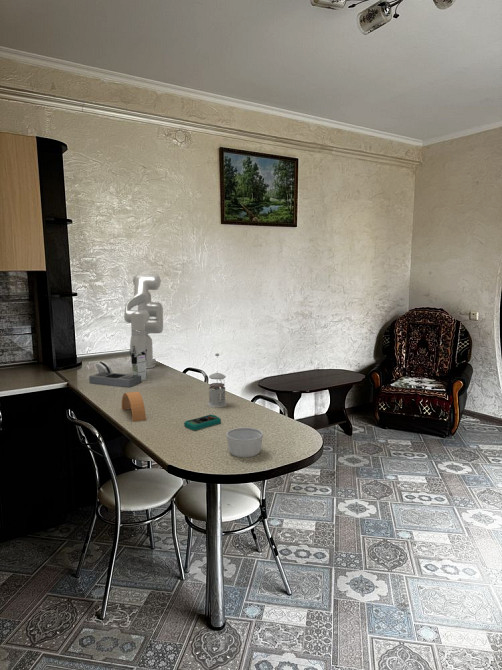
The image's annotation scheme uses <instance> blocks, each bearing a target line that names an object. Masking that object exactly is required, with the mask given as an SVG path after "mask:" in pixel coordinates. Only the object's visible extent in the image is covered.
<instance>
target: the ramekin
mask: <svg viewBox="0 0 502 670" xmlns="http://www.w3.org/2000/svg"><path fill="white" fill-rule="evenodd" d="M225 437H226V441H227V449H228V451H229V453H230V454H231V455H233V456H234V457H238V458H251V457H255V456H257V455H258V454H259V453H260V452H261V450H262V444H263V438H264V433H263V431H262V430H260V429H258V428H255V427H246V426H245V427H244V426H243V427H242V426H241V427H236V428H232V429H230V430H227V432H226V434H225Z"/></svg>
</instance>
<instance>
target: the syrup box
mask: <svg viewBox="0 0 502 670" xmlns="http://www.w3.org/2000/svg"><path fill="white" fill-rule="evenodd" d="M136 357H137V364H132V363H131V364H132V365H131V366H132V375H140V376H141V381H145V380H147V371H146V370H147V368H146V361H145V355H141V354H138V353H137V355H136Z"/></svg>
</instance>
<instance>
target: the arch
mask: <svg viewBox="0 0 502 670" xmlns="http://www.w3.org/2000/svg"><path fill="white" fill-rule="evenodd" d="M122 409H123V410H131V417H132V419H131V421H132V422H140V421H146V419H147V417H146V416H147V415H146V408H145V404H144V399H143V396H142V395H141V393H140V392H139V391H131V392H124V393H123V394H122V399H121V410H122Z"/></svg>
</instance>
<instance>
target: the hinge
mask: <svg viewBox="0 0 502 670" xmlns="http://www.w3.org/2000/svg"><path fill="white" fill-rule="evenodd" d="M95 366H96V369H97V371H98V373H101V372H109V373H114V372H113V370H112V368H111V366H110V365H109V364H108V363H107V362H106V361H99V362H97V363H96V364H95Z"/></svg>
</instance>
